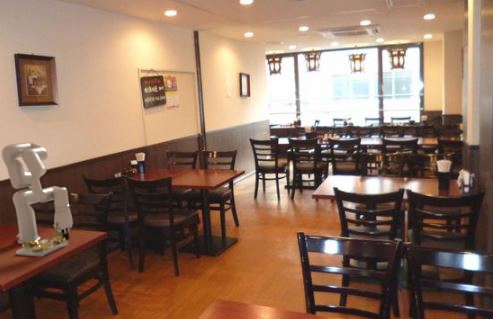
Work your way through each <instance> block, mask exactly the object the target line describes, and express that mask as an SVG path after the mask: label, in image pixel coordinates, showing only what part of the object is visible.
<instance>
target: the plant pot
mask: <svg viewBox="0 0 493 319" xmlns="http://www.w3.org/2000/svg"><path fill="white" fill-rule="evenodd" d="M52 227H53V228H54V230H55V234H56V237H58V236H60V237H63V235H62V233H61V232H57V229H55V224H53V226H52Z"/></svg>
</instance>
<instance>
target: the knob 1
mask: <svg viewBox="0 0 493 319" xmlns="http://www.w3.org/2000/svg"><path fill="white" fill-rule="evenodd" d="M47 240H48V241H47V242H43V243H39V245H36V246H33V250H34V251H39V250H42V249H43V248H47V247H50V246H52V242H51V240H52V239H47Z"/></svg>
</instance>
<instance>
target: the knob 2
mask: <svg viewBox="0 0 493 319" xmlns="http://www.w3.org/2000/svg"><path fill="white" fill-rule="evenodd" d="M51 240H53V242H54V243H56V242H60V243H66V241H67V240H66V239H65V237H60V236H58V237H57V236H55V237H52V239H51Z"/></svg>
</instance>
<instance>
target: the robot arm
mask: <svg viewBox="0 0 493 319" xmlns="http://www.w3.org/2000/svg"><path fill="white" fill-rule="evenodd" d="M1 157H2V161H3V162H4V164H5V167H6V170H7V173H8V178H9V180H10V183H11V186H12V188H14V189H15V190H18V189H21V190H18V191H17V192H15V193H14V194H13V195H12V203H13V205H14V207H15V212H16V218H17V225H18V231H19V232H18V234H17V235H16V238H18V239H17V243H18V244H21V245H22V243H23V242H27V241H29V240H38V241H41V240H42V238H41V236H40V235H38V230H37V222H36V216H35V211H34V208H33V207H32V206H31V205H32V204H36V203H47V202H51V201H53V204H54V209H55V210H54V211H55V212H54V215H53V216H54V219H53V223H54V224H55V228H54V230H55V229H57V232H61V233H62V235H63V237H65V239H66V241H68V240H70V230H71V228H72V227H73V224H74V223H73V221H74V220H73V217H72V213H71V212H72V211H71V209H70V204H69V196H68V195H69V194H68V189H67V188H66V187H64V186H63V187H59V186H55V185H53V186H50V187H49V186H48V187H45V188H43V187H42V184H41V181H40V178H42V176H44V175H45V174H46V173H47V167H46V166H45V164H44V162H43V161H46V160H47V159H48V157H49V155H48V151H47V150H46V148H45V147H43V146H40V145H38V144H36V143H33V142H29V141H26V142H18V143H17V142H16V143H12V144H11V143H10V144H7V145H6V146H4V147H3V149H2V150H1ZM18 158H22V160H23V162H21V161H20V160H19V159H18ZM22 163H24V164H25V165H26V168H27V170H25V169H24V165H23V164H22ZM23 188H26V189H23ZM54 224H53V225H54Z"/></svg>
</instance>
